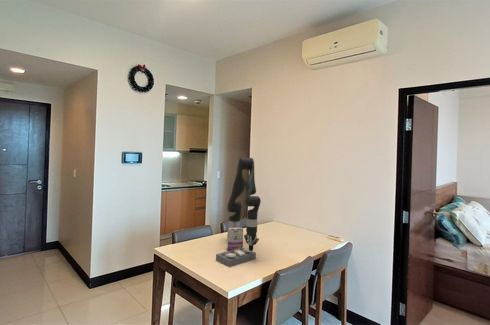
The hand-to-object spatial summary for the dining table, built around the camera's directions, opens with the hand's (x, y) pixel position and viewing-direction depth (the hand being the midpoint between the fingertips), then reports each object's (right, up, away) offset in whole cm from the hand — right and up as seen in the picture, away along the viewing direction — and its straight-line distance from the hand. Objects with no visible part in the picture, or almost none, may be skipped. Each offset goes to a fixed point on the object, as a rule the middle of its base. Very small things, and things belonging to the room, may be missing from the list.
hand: (250, 250), depth 188 cm
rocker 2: (-8, -1, -4) cm, 8 cm away
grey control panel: (-10, -6, -1) cm, 12 cm away
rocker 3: (-2, -1, +2) cm, 3 cm away
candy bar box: (-12, -6, +18) cm, 22 cm away
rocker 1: (-13, 0, -9) cm, 16 cm away
